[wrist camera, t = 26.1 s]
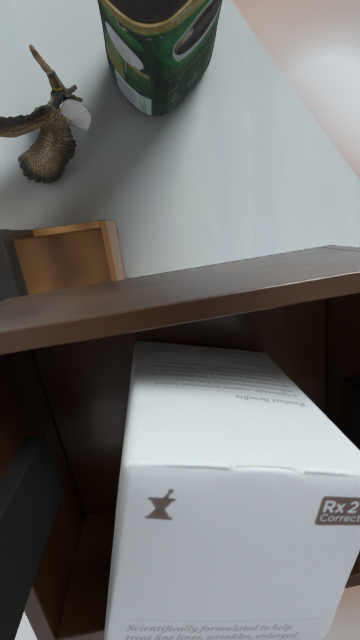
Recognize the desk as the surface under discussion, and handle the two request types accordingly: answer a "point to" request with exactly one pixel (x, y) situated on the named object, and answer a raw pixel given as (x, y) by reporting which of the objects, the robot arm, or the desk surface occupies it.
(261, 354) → the product carton
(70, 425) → the dark brown wooden box
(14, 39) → the desk surface
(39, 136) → the eagle figurine
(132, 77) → the coffee jar
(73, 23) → the desk surface
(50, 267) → the box
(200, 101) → the desk surface
